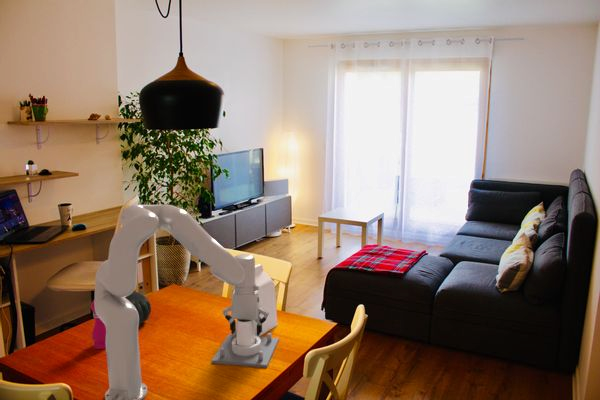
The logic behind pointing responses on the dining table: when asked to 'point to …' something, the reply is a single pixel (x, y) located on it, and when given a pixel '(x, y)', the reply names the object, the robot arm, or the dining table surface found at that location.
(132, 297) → the squash
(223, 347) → the carrier plate
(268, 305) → the milk
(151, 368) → the dining table surface
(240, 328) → the can
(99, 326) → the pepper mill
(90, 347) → the dining table surface
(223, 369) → the dining table surface
